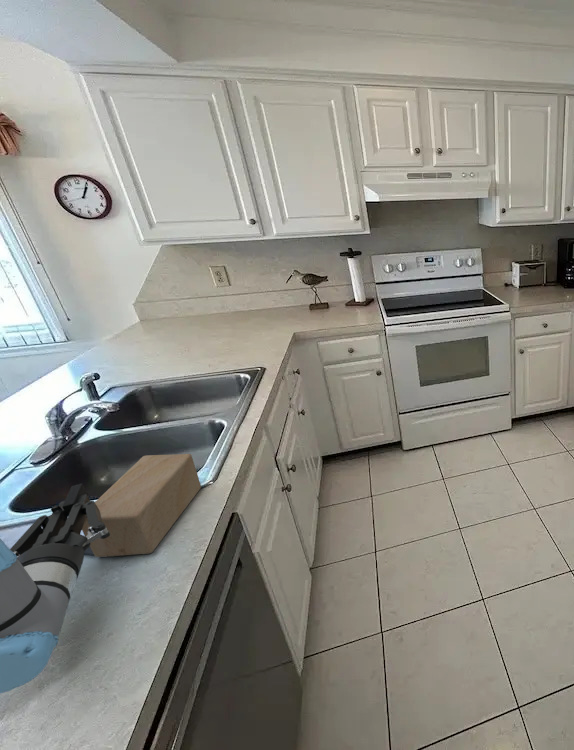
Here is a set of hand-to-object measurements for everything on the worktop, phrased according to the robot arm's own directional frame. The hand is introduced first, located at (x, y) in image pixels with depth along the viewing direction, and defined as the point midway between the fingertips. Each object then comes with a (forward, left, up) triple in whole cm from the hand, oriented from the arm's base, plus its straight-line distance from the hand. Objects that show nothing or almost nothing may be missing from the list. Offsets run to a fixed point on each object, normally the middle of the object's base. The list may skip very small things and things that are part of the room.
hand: (80, 490), depth 78 cm
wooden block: (+7, -3, -8) cm, 11 cm away
